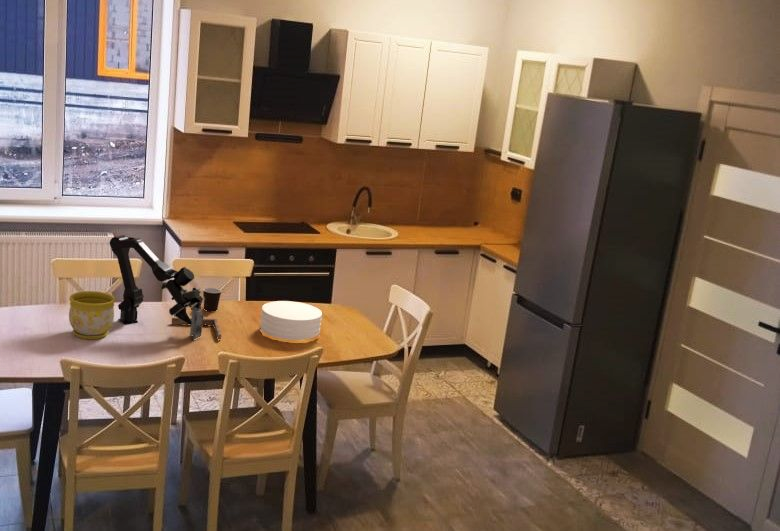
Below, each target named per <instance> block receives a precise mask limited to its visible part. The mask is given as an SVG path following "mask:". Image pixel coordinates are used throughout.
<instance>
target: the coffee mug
mask: <svg viewBox="0 0 780 531" xmlns="http://www.w3.org/2000/svg"><path fill="white" fill-rule="evenodd" d="M202 293H203V296H202V298H203V310H204V309H205V310H207V311H216V310H217V311H218V308H219V304H220V299H221V294H222V290H221V289H219V288H216V287H206V288H203V289H202ZM205 310H204V311H205ZM207 311H206V312H207ZM217 311H216V312H217Z"/></svg>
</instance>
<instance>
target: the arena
mask: <svg viewBox="0 0 780 531" xmlns="http://www.w3.org/2000/svg"><path fill="white" fill-rule="evenodd" d="M189 318H190V320H191V317H189ZM172 324H188V323H187V322H185V321H183V320H181V319H179V318H177V317H171V325H172ZM205 324H206V325H214V326H213V328H214V327H215V329H214V331H215V330H216V332H215V335H216V334H217V336H216V338H217V337H218V339H221V340H222V332H221V330H220V325H219V323H218V319H217V318H203V320H202V325H205ZM218 339H217V340H218Z"/></svg>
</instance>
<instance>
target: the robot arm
mask: <svg viewBox="0 0 780 531" xmlns="http://www.w3.org/2000/svg"><path fill="white" fill-rule="evenodd" d="M109 246H110V249H111V251H112V253H113V254H114V255H115V256H116V258H117V263H118V265H119V266H118V267H119V272H120V274H121V279H122V283H123V287H124V290H123V295H122V298H123V301H121V302H120V303H118V305H117V307H118V309H119V310H120V312H119V313H120V314H119V317H120V318H118V319H117V320H118V321H119V322H120V323H122V324H124V325H129V324H137V323H139V321H138V314H139V313H138V312H139V311H138V308H139V307H140V305H141V304H142V303H143V301H144V297H145V296H144V294H143V289H142V288H139V287H138V286H137V285H136V281H135V277H134V272H133V269H132V263H131V260H130V254H129V253H130V250H131V249H134V250H135V252H136V253H137V254H138V255H139V257H141V259H143V261H145V263H146V264H147V265H148V266H150V269H151V270H152V271H151V272H152V274H153V275H154V277H155V279H156V280H157V281H158V282H162V283H161V284H162V285H161V290H165V289H167V291H168V292H169V294H170V296H171V298H170V299H171V300H172V301H173V300H174V302H176V304H174V305H173V306H172V307H170V308H169V310H168V313H169V315H170V316H171V317H172V316H173V318H179V319H181V320H183V321H185V322H187V323H188V324H192V322H191V320H190V318H191V317H190V316H189V315H188V312H187V308H188V307H189V308H190V310H191V311H192V308H193V307H195V308H198V309H202V303H203V301H204V298H203V296H202V295H201V290H200V288H199V287H198V286H195V287H193V288H192V289H191V290H188V289H186V288H185V289H184V288H183V287H185V286H187V285H188V284H189V283H191V282H192V281H193V280H195V274H194V272H193V271H191V269H189V268H187V267H186V266H184V267H181V268H180V269H179V270H175V269H173V268H172V267H171V266H170V265H168V263H165V262H164V261H161V260H160V259H159V258H158V257H157V256H156V255H155V254H154V252H153V251H152V250H151V249H150V248H149V246H147V245H146V244H145V242H144V241H143V239H142V238H140V237H138V238H137V237H131V236H127V235H125V234H121V235H118V236H113V237H112V238H110V240H109ZM203 319H205V318H204V316H203Z"/></svg>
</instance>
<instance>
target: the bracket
mask: <svg viewBox="0 0 780 531" xmlns="http://www.w3.org/2000/svg"><path fill="white" fill-rule="evenodd" d="M203 317H204V309H202V308H201V309H198V308H195V307H193V308H192V310H191V317H190V318H191V322H192V324H191V325H190V331H189V336H190V335H193V336H192V340H193V339H196V338H198V337H200V336H201V337H202V331H203V326H202V320H203V319H204V318H203Z"/></svg>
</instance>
